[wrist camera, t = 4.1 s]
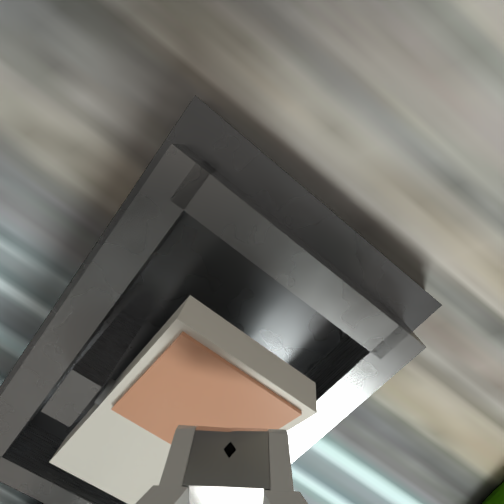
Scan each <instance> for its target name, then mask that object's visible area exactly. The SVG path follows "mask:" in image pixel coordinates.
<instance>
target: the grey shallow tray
mask: <svg viewBox="0 0 504 504" xmlns="http://www.w3.org/2000/svg"><path fill="white" fill-rule="evenodd" d="M190 295H191V296H192V297H194V298H195V299H197V300H198V301H199V302H201V303H202V304H204V305H205V306H207V307H208V308H209V309H211V310H212V311H214V312H215V313H217V314H218V315H219V316H221V317H222V318H224V319H225V320H227V321H228V322H229V323H231V324H232V325H234V326H235V327H237V328H238V329H239V330H241V331H242V332H244V333H245V334H247V335H248V336H249V337H251V338H252V339H254V340H255V341H256V342H258V343H259V344H261V345H262V346H264V347H265V348H266V349H268V350H269V351H271V352H272V353H274V354H275V355H276V356H278V357H279V358H281V359H282V360H284V361H285V362H286V363H288V364H289V365H291V366H292V367H294V368H295V369H296V370H298V371H299V372H301V373H302V374H304V375H305V376H306V377H308V378H309V379H311V380H312V381H314V382H315V383H316V404H317V413H316V414H314V415H313V416H311V417H310V418H308V419H306V420H305V421H303V422H301V423H300V424H298V425H296V426H295V427H293V428H291V429H290V430H288V431H287V433H288V442H289V451H290V461H291V464H292V463H293V462H294V461H295V460H296V459H297V458H299V457H300V456H301V455H302V454H303V453H304V452H305V451H307V450H308V449H309V448H310V447H311V446H312V445H314V444H315V443H316V442H317V441H318V440H319V439H321V438H322V437H323V436H324V435H325V434H326V433H328V432H329V431H330V430H331V429H332V428H333V427H334V426H336V425H337V424H338V423H339V422H340V421H341V420H343V419H344V418H345V417H346V416H347V415H348V414H350V413H351V412H352V411H353V410H354V409H355V408H356V407H358V406H359V405H360V404H361V403H362V402H363V401H365V400H366V399H367V398H368V397H369V396H370V395H372V394H373V393H374V392H375V391H376V390H377V389H379V388H380V387H381V386H382V385H383V384H384V383H385V382H387V381H388V380H389V379H390V378H391V377H392V376H394V375H395V374H396V373H397V372H398V371H399V370H401V369H402V368H403V367H404V366H405V365H406V364H408V363H409V362H410V361H411V360H412V359H413V358H414V357H416V356H417V355H418V354H419V353H420V352H421V351H423V350H424V349H425V348H426V346H425V345H424V344H423V343H422V342H421V341H420V340H419V338H418V337H417V336H416V335H415V334H414V333H413V331H414V330H415V329H416V328H417V327H418V326H419V325H420V324H421V323H422V322H424V321H425V320H426V319H427V318H428V317H429V316H430V315H431V314H433V313H434V312H435V311H436V310H437V309H438V308H439V307H440V306H442V305H441V304H440V303H439V302H438V301H437V300H436V299H434V298H433V297H432V296H431V295H430V294H429V293H427V292H426V291H425V290H424V289H423V288H421V287H420V286H419V285H418V284H417V283H416V282H414V281H413V280H412V279H411V278H410V277H408V276H407V275H406V274H405V273H404V272H403V271H401V270H400V269H399V268H398V267H397V266H396V265H394V264H393V263H392V262H391V261H390V260H388V259H387V258H386V257H385V256H384V255H383V254H381V253H380V252H379V251H378V250H377V249H376V248H374V247H373V246H372V245H371V244H370V243H368V242H367V241H366V240H365V239H364V238H363V237H361V236H360V235H359V234H358V233H357V232H356V231H354V230H353V229H352V228H351V227H350V226H348V225H347V224H346V223H345V222H344V221H343V220H341V219H340V218H339V217H338V216H337V215H336V214H334V213H333V212H332V211H331V210H330V209H328V208H327V207H326V206H325V205H324V204H323V203H321V202H320V201H319V200H318V199H317V198H315V197H314V196H313V195H312V194H311V193H310V192H308V191H307V190H306V189H305V188H304V187H303V186H301V185H300V184H299V183H298V182H297V181H295V180H294V179H293V178H292V177H291V176H290V175H288V174H287V173H286V172H285V171H284V170H283V169H281V168H280V167H279V166H278V165H277V164H275V163H274V162H273V161H272V160H271V159H270V158H268V157H267V156H266V155H265V154H264V153H263V152H261V151H260V150H259V149H258V148H257V147H255V146H254V145H253V144H252V143H251V142H250V141H248V140H247V139H246V138H245V137H244V136H243V135H241V134H240V133H239V132H238V131H237V130H235V129H234V128H233V127H232V126H231V125H230V124H228V123H227V122H226V121H225V120H224V119H223V118H221V117H220V116H219V115H218V114H217V113H215V112H214V111H213V110H212V109H211V108H210V107H208V106H207V105H206V104H205V103H204V102H202V101H201V100H200V99H199V98H198V97H197V96H195V97H194V98H193V100H192V101H191V103H190V104H189V106H188V107H187V109H186V110H185V112H184V113H183V115H182V116H181V118H180V119H179V120H178V122H177V123H176V125H175V126H174V128H173V129H172V131H171V132H170V134H169V135H168V137H167V138H166V140H165V141H164V143H163V144H162V146H161V147H160V149H159V150H158V152H157V153H156V155H155V156H154V158H153V159H152V161H151V162H150V164H149V165H148V167H147V168H146V170H145V171H144V173H143V174H142V176H141V177H140V179H139V180H138V182H137V183H136V185H135V186H134V188H133V189H132V191H131V192H130V194H129V195H128V197H127V198H126V200H125V201H124V203H123V204H122V206H121V207H120V209H119V210H118V212H117V213H116V215H115V216H114V218H113V219H112V221H111V222H110V224H109V225H108V227H107V228H106V230H105V231H104V233H103V234H102V236H101V237H100V239H99V240H98V242H97V243H96V245H95V246H94V248H93V249H92V251H91V252H90V254H89V255H88V257H87V258H86V260H85V261H84V263H83V264H82V266H81V267H80V268H79V270H78V271H77V273H76V274H75V276H74V277H73V279H72V280H71V282H70V283H69V285H68V286H67V288H66V289H65V291H64V292H63V294H62V295H61V297H60V298H59V300H58V301H57V303H56V304H55V306H54V307H53V309H52V310H51V312H50V313H49V315H48V316H47V318H46V319H45V321H44V322H43V324H42V325H41V327H40V328H39V330H38V331H37V333H36V334H35V336H34V337H33V339H32V340H31V342H30V343H29V345H28V346H27V348H26V349H25V351H24V352H23V354H22V355H21V357H20V358H19V360H18V361H17V363H16V364H15V366H14V367H13V369H12V370H11V372H10V373H9V375H8V376H7V378H6V379H5V381H4V382H3V384H2V385H1V387H0V482H2V483H4V484H6V485H8V486H10V487H12V488H14V489H16V490H18V491H20V492H22V493H24V494H26V495H28V496H30V497H32V498H34V499H36V500H38V501H40V502H42V503H44V504H127V503H125V502H124V501H122V500H120V499H118V498H116V497H114V496H112V495H110V494H108V493H106V492H104V491H103V490H101V489H99V488H97V487H95V486H93V485H91V484H89V483H87V482H85V481H84V480H82V479H80V478H78V477H76V476H74V475H72V474H70V473H68V472H66V471H64V470H63V469H61V468H59V467H57V466H55V465H53V464H51V463H49V461H50V460H51V458H52V457H53V456H54V454H55V453H56V451H57V450H58V448H59V447H60V445H61V444H62V442H63V441H64V439H65V438H66V437H67V436H68V434H69V433H70V432H71V431H72V430H73V429H74V428H75V426H76V425H77V424H78V423H79V422H80V421H81V419H82V418H83V417H84V416H85V415H86V414H87V413H88V411H89V410H90V409H91V408H92V407H93V406H94V405H95V403H94V402H95V400H96V399H97V397H98V396H99V394H100V393H101V391H102V390H103V388H104V387H105V386H106V384H107V383H108V382H109V381H110V379H113V380H114V381H115V380H116V379H117V378H118V377H119V376H120V375H121V374H122V372H123V371H124V370H125V369H126V368H127V367H128V366H129V364H130V363H131V362H132V361H133V360H134V359H135V357H136V356H137V355H138V354H139V353H140V352H141V351H142V349H143V348H144V347H145V346H146V345H147V344H148V343H149V341H150V340H151V339H152V338H153V337H154V336H155V335H156V333H157V332H158V331H159V330H160V329H161V328H162V326H163V325H164V324H165V323H166V322H167V321H168V320H169V318H170V317H171V316H172V315H173V314H174V313H175V312H176V310H177V309H178V308H179V307H180V306H181V305H182V304H183V302H184V301H185V300H186V299H187V298H188V297H189V296H190Z"/></svg>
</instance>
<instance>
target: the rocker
mask: <svg viewBox="0 0 504 504" xmlns="http://www.w3.org/2000/svg"><path fill="white" fill-rule="evenodd" d="M94 403H95V405H94V406H93V407H92V408H91V409H90V410H89V411H88V413H87V414H86V415H85V416H84V417H83V418H82V419H81V421H80V422H79V423H78V424H77V425H76V426H75V428H74V429H73V430H72V431H71V432H70V433H69V434H68V436H67V437H66V438H65V439H64V441H63V442H62V444H61V445H60V447H59V448H58V450H57V451H56V453H55V454H54V456H53V457H52V458H51V460H50V461H49V463H51V464H53V465H55V466H57V467H59V468H61V469H63V470H64V471H66V472H68V473H70V474H72V475H74V476H76V477H78V478H80V479H82V480H84V481H85V482H87V483H89V484H91V485H93V486H95V487H97V488H99V489H101V490H103V491H104V492H106V493H108V494H110V495H112V496H114V497H116V498H118V499H120V500H122V501H124V502H125V503H127V504H135V503H136V502H137V501H138V500H139V499H140V498H141V497H142V496H143V495H144V494H145V493H146V492H147V491H148V490H149V489H150V488H151V487H152V486H153V485H159V483H160V480H161V477H162V473H163V470H164V467H165V463H166V460H167V457H168V453H169V450H170V447H171V444H172V440H173V437H174V434H175V430H176V429H177V427H178V425H190V426H209V427H223V428H262V429H284V430H286V431H288V430H290V429H291V428H293V427H295V426H296V425H298V424H300V423H301V422H303V421H305V420H306V419H308V418H310V417H311V416H313V415H314V414H316V413H317V404H316V383H315V382H314V381H312V380H311V379H309V378H308V377H306V376H305V375H304V374H302V373H301V372H299V371H298V370H296V369H295V368H294V367H292V366H291V365H289V364H288V363H286V362H285V361H284V360H282V359H281V358H279V357H278V356H276V355H275V354H274V353H272V352H271V351H269V350H268V349H266V348H265V347H264V346H262V345H261V344H259V343H258V342H256V341H255V340H254V339H252V338H251V337H249V336H248V335H247V334H245V333H244V332H242V331H241V330H239V329H238V328H237V327H235V326H234V325H232V324H231V323H229V322H228V321H227V320H225V319H224V318H222V317H221V316H219V315H218V314H217V313H215V312H214V311H212V310H211V309H209V308H208V307H207V306H205V305H204V304H202V303H201V302H199V301H198V300H197V299H195V298H194V297H192V296H191V295H190V296H189V297H188V298H187V299H186V300H185V301H184V302H183V304H182V305H181V306H180V307H179V308H178V309H177V310H176V312H175V313H174V314H173V315H172V316H171V317H170V318H169V320H168V321H167V322H166V323H165V324H164V325H163V326H162V328H161V329H160V330H159V331H158V332H157V333H156V335H155V336H154V337H153V338H152V339H151V340H150V341H149V343H148V344H147V345H146V346H145V347H144V348H143V349H142V351H141V352H140V353H139V354H138V355H137V356H136V357H135V359H134V360H133V361H132V362H131V363H130V364H129V366H128V367H127V368H126V369H125V370H124V371H123V372H122V374H121V375H120V376H119V377H118V378H117V379H116V380H115V381H114V380H113V379H110V381H109V382H108V383H107V384H106V386H105V387H104V388H103V390H102V391H101V393H100V394H99V396H98V397H97V399H96V400H95V402H94Z"/></svg>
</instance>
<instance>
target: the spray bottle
mask: <svg viewBox="0 0 504 504" xmlns="http://www.w3.org/2000/svg"><path fill="white" fill-rule="evenodd" d="M482 504H504V482H503V483H502V484H501V485H500V486H499V487H497V488H496V489H495V490H494V491H493V492H492V493H491V494H490V495H489V496H488V497H487V499H486V500H485V501H484V502H483V503H482Z"/></svg>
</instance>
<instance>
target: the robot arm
mask: <svg viewBox="0 0 504 504" xmlns="http://www.w3.org/2000/svg"><path fill="white" fill-rule="evenodd" d="M135 504H308V503H307V502H306V500H305V499H304V497H303V496H302V495H301V493H300V492H295V491H294V489H293V480H292V470H291V461H290V451H289V442H288V433H287V431H286V430H284V429H262V428H223V427H209V426H190V425H178V427H177V429H176V430H175V434H174V437H173V440H172V444H171V447H170V450H169V453H168V457H167V460H166V463H165V467H164V470H163V473H162V477H161V480H160V483H159V485H153V486H152V487H151V488H150V489H149V490H148V491H147V492H146V493H145V494H144V495H143V496H142V497H141V498H140V499H139V500H138V501H137V502H136V503H135Z"/></svg>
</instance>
